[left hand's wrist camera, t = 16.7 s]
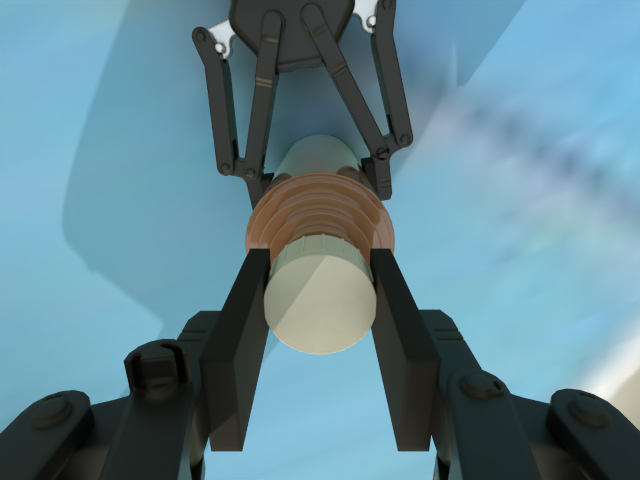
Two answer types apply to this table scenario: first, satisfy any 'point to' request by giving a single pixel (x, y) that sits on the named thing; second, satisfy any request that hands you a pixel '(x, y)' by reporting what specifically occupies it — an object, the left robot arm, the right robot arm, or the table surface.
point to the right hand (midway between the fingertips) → (329, 245)
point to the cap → (320, 295)
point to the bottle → (320, 201)
